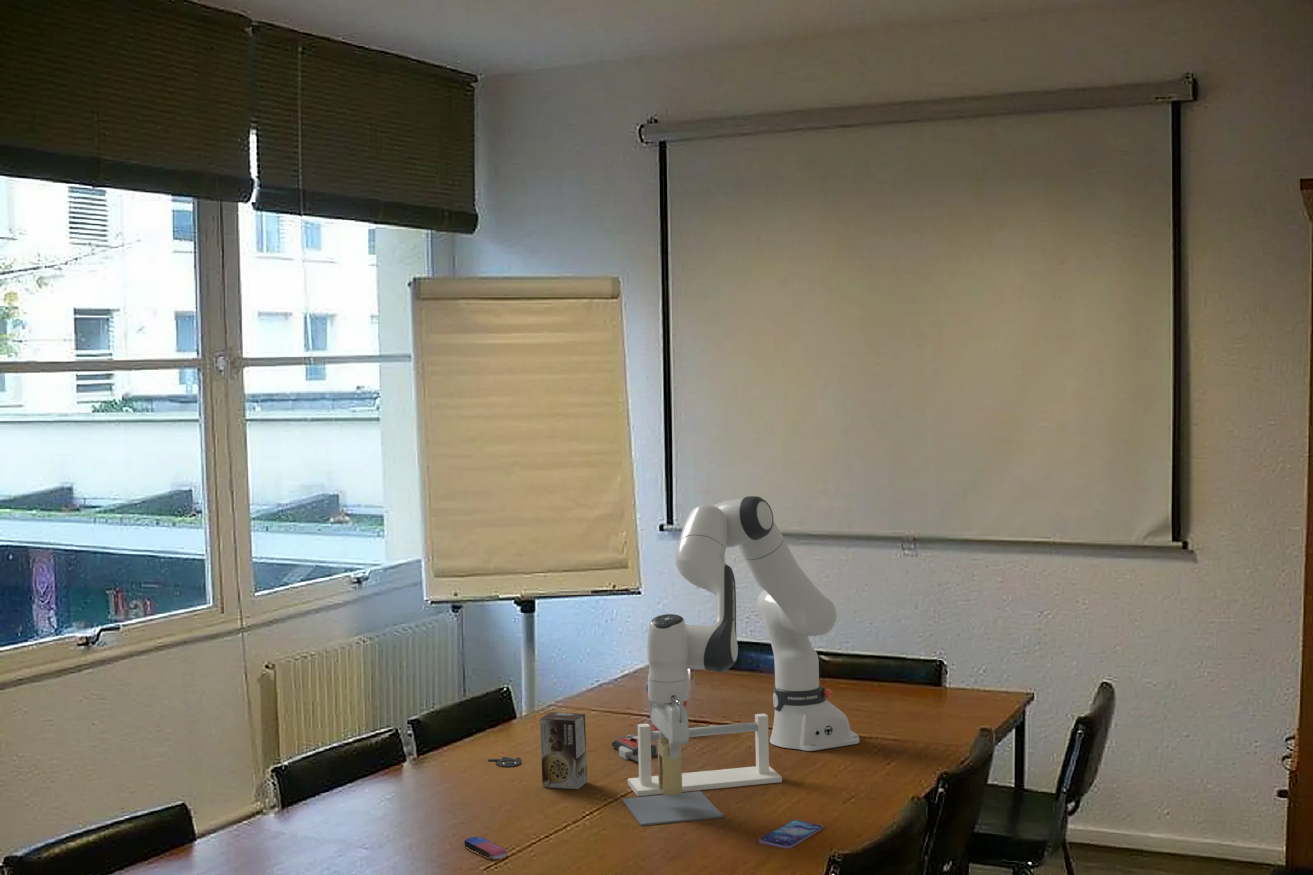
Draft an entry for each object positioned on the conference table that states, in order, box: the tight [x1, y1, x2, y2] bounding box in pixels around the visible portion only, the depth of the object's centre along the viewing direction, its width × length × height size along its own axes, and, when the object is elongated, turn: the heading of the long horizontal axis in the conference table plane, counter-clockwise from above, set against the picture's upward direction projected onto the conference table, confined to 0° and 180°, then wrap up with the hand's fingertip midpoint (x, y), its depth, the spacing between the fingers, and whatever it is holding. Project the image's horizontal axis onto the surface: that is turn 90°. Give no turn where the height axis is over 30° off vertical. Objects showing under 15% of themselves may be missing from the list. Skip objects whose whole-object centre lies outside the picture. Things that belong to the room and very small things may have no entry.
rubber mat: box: [621, 790, 724, 827], centre depth 309 cm, size 18×18×1 cm
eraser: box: [463, 836, 508, 860], centre depth 285 cm, size 11×4×2 cm, turn 40°
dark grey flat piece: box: [487, 756, 522, 768], centre depth 349 cm, size 9×8×1 cm
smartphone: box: [759, 819, 824, 849], centre depth 291 cm, size 7×1×15 cm
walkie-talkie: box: [611, 734, 657, 763], centre depth 352 cm, size 9×4×20 cm
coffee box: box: [539, 711, 588, 790], centre depth 328 cm, size 9×6×16 cm
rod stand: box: [627, 713, 783, 797], centre depth 327 cm, size 34×10×15 cm, turn 104°
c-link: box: [657, 738, 683, 795], centre depth 309 cm, size 4×5×11 cm
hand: (669, 754), depth 309 cm, fingers closed on c-link, 5 cm apart
